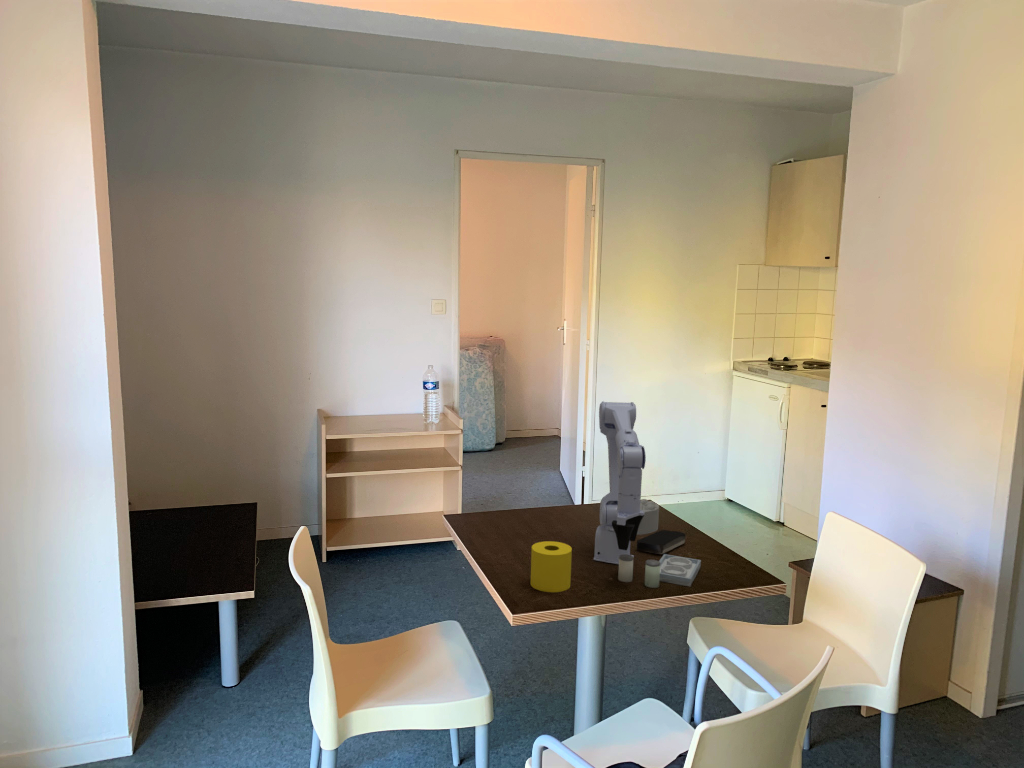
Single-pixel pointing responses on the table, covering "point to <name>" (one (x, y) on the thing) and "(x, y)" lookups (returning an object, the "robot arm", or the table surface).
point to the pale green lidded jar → (652, 573)
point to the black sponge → (661, 541)
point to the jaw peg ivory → (625, 568)
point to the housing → (678, 569)
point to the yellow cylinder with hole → (551, 566)
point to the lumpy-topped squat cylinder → (648, 517)
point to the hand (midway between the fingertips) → (626, 545)
